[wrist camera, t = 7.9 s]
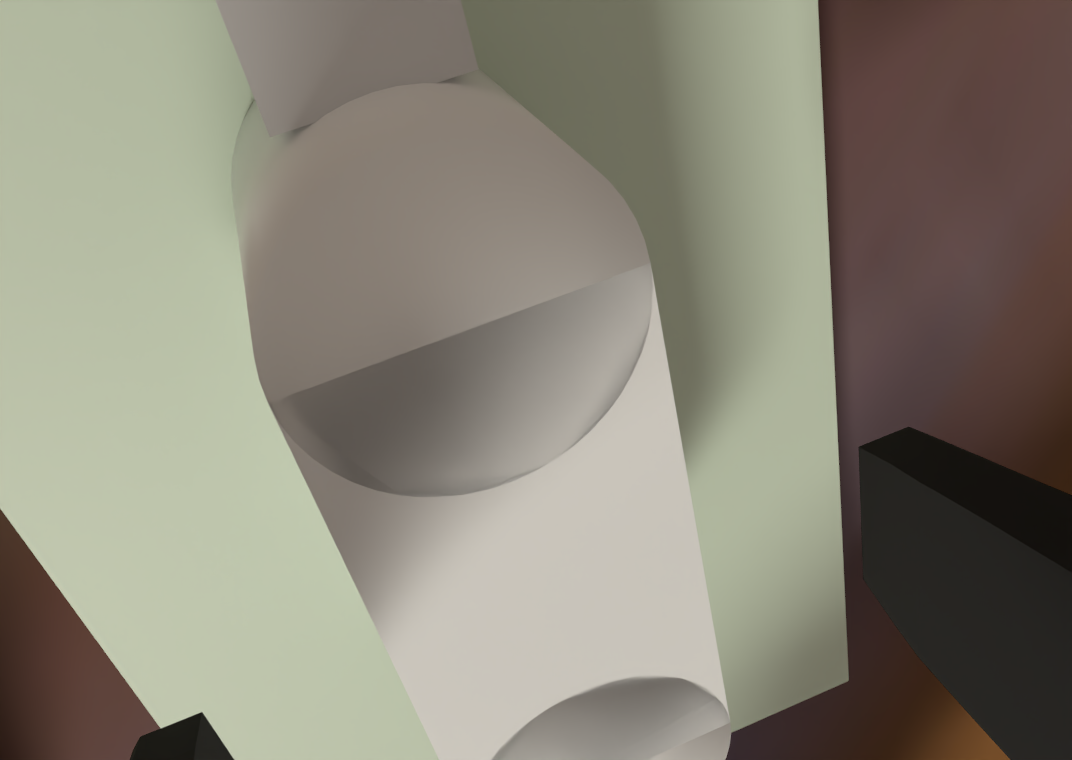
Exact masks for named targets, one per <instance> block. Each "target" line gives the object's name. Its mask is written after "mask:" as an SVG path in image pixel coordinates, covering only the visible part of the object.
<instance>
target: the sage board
mask: <svg viewBox="0 0 1072 760" xmlns="http://www.w3.org/2000/svg"><path fill="white" fill-rule="evenodd" d="M461 3H462V7H463V11H464V15H465V19H466V22H467V26H468V30H469V34H470V38H471V42H472V46H473V50H474V54H475V58H476V61H477V65H478V68H479V69H480V70H481V71H482V72H484V73H485V74H486V75H487V76H488V77H489V78H491V79H492V80H493V81H494V82H495V83H496V84H498V85H499V86H500V87H501V88H502V89H503V90H505V91H506V92H507V93H508V94H509V95H510V96H512V97H513V98H514V99H515V100H516V101H517V102H519V103H520V104H521V105H522V106H523V107H524V108H526V109H527V110H528V111H529V112H530V113H531V114H532V115H534V116H535V117H536V118H537V119H538V120H539V121H541V122H542V123H543V124H544V125H545V126H546V127H548V128H549V129H550V130H551V131H552V132H553V133H555V134H556V135H557V136H558V137H559V138H560V139H562V140H563V141H564V142H565V143H566V144H567V145H569V146H570V147H571V148H572V149H573V150H574V151H576V152H577V153H578V154H579V155H580V156H581V157H583V158H584V159H585V160H586V161H587V162H588V163H590V164H591V165H592V166H593V167H594V168H595V169H596V170H597V171H599V172H600V173H601V174H602V175H603V176H604V177H605V178H606V179H608V180H609V181H610V183H611V184H612V185H613V186H614V188H615V189H616V190H617V191H618V192H619V194H620V195H621V196H622V197H623V198H624V200H625V201H626V203H627V205H628V206H629V208H630V210H631V211H632V213H633V215H634V216H635V218H636V220H637V222H638V225H639V227H640V230H641V232H642V235H643V237H644V240H645V243H646V247H647V251H648V255H649V259H650V263H651V269H652V274H653V280H654V286H655V292H656V297H657V303H658V309H659V315H660V320H661V326H662V332H663V338H664V343H665V349H666V355H667V361H668V367H669V372H670V378H671V384H672V390H673V395H674V401H675V407H676V413H677V418H678V424H679V430H680V436H681V441H682V447H683V453H684V459H685V464H686V470H687V476H688V482H689V487H690V493H691V499H692V505H693V510H694V516H695V522H696V528H697V533H698V539H699V545H700V551H701V556H702V562H703V568H704V574H705V580H706V585H707V591H708V597H709V603H710V608H711V614H712V620H713V626H714V631H715V637H716V643H717V649H718V654H719V660H720V666H721V672H722V677H723V683H724V689H725V695H726V700H727V706H728V712H729V718H730V725H731V733H732V732H734V731H736V730H739V729H741V728H743V727H746V726H748V725H750V724H752V723H755V722H757V721H759V720H761V719H764V718H766V717H768V716H770V715H773V714H775V713H777V712H779V711H782V710H784V709H786V708H788V707H791V706H793V705H795V704H797V703H800V702H802V701H804V700H807V699H809V698H811V697H813V696H816V695H818V694H820V693H822V692H825V691H827V690H829V689H831V688H834V687H836V686H838V685H840V684H843V683H845V682H847V681H849V673H848V651H847V629H846V608H845V586H844V564H843V542H842V520H841V498H840V476H839V454H838V432H837V410H836V388H835V366H834V344H833V322H832V301H831V279H830V257H829V235H828V213H827V191H826V169H825V147H824V125H823V103H822V81H821V59H820V37H819V16H818V0H461ZM254 100H255V99H254V96H253V94H252V91H251V89H250V86H249V84H248V81H247V79H246V76H245V74H244V71H243V69H242V66H241V63H240V61H239V58H238V56H237V53H236V51H235V48H234V46H233V43H232V41H231V38H230V36H229V33H228V31H227V28H226V26H225V23H224V21H223V18H222V16H221V13H220V11H219V8H218V6H217V3H216V1H215V0H0V509H1V510H2V511H3V513H4V514H5V516H6V517H7V518H8V520H9V521H10V522H11V524H12V525H13V527H14V528H15V529H16V531H17V532H18V533H19V535H20V536H21V538H22V539H23V540H24V542H25V543H26V544H27V546H28V547H29V548H30V550H31V551H32V553H33V554H34V555H35V557H36V558H37V559H38V561H39V562H40V564H41V565H42V566H43V568H44V569H45V570H46V572H47V573H48V574H49V576H50V577H51V579H52V580H53V581H54V583H55V584H56V585H57V587H58V588H59V590H60V591H61V592H62V594H63V595H64V596H65V598H66V599H67V601H68V602H69V603H70V605H71V606H72V607H73V609H74V610H75V611H76V613H77V614H78V616H79V617H80V618H81V620H82V621H83V622H84V624H85V625H86V627H87V628H88V629H89V631H90V632H91V633H92V635H93V636H94V638H95V639H96V640H97V642H98V643H99V644H100V646H101V647H102V648H103V650H104V651H105V653H106V654H107V655H108V657H109V658H110V659H111V661H112V662H113V664H114V665H115V666H116V668H117V669H118V670H119V672H120V673H121V675H122V676H123V677H124V679H125V680H126V681H127V683H128V684H129V685H130V687H131V688H132V690H133V691H134V692H135V694H136V695H137V696H138V698H139V699H140V701H141V702H142V703H143V705H144V706H145V707H146V709H147V710H148V711H149V713H150V714H151V716H152V717H153V718H154V720H155V721H156V722H157V724H158V725H159V727H160V728H163V727H166V726H168V725H171V724H173V723H176V722H178V721H181V720H183V719H186V718H188V717H191V716H193V715H196V714H198V713H201V712H203V714H204V715H205V717H206V718H207V720H208V721H209V723H210V724H211V726H212V727H213V729H214V730H215V732H216V733H217V735H218V736H219V738H220V739H221V741H222V742H223V744H224V745H225V747H226V748H227V750H228V751H229V753H230V754H231V756H232V757H233V759H234V760H439V758H438V756H437V754H436V752H435V750H434V748H433V746H432V744H431V742H430V740H429V738H428V736H427V733H426V731H425V729H424V727H423V725H422V723H421V721H420V719H419V717H418V715H417V713H416V711H415V708H414V706H413V704H412V702H411V700H410V698H409V696H408V694H407V692H406V690H405V688H404V686H403V683H402V681H401V679H400V677H399V675H398V673H397V671H396V669H395V667H394V665H393V663H392V661H391V658H390V656H389V654H388V652H387V650H386V648H385V646H384V644H383V642H382V640H381V638H380V636H379V633H378V631H377V629H376V627H375V625H374V623H373V621H372V619H371V617H370V615H369V613H368V611H367V608H366V606H365V604H364V602H363V600H362V598H361V596H360V594H359V592H358V590H357V588H356V586H355V583H354V581H353V579H352V577H351V575H350V573H349V571H348V569H347V567H346V565H345V563H344V561H343V558H342V556H341V554H340V552H339V550H338V548H337V546H336V544H335V542H334V540H333V538H332V536H331V534H330V531H329V529H328V527H327V525H326V523H325V521H324V519H323V517H322V515H321V513H320V511H319V509H318V506H317V504H316V502H315V500H314V498H313V496H312V494H311V492H310V490H309V488H308V486H307V484H306V481H305V479H304V477H303V475H302V473H301V471H300V469H299V467H298V465H297V463H296V461H295V459H294V456H293V454H292V452H291V450H290V448H289V446H288V444H287V442H286V440H285V438H284V436H283V434H282V431H281V429H280V427H279V425H278V423H277V421H276V419H275V417H274V415H273V413H272V411H271V409H270V406H269V404H268V402H267V400H266V397H265V394H264V392H263V389H262V387H261V384H260V381H259V378H258V373H257V369H256V364H255V359H254V354H253V347H252V339H251V332H250V324H249V317H248V309H247V302H246V294H245V287H244V280H243V272H242V265H241V257H240V250H239V242H238V235H237V228H236V220H235V213H234V205H233V198H232V184H231V171H232V157H233V153H234V148H235V144H236V139H237V136H238V133H239V131H240V128H241V125H242V122H243V120H244V118H245V116H246V114H247V112H248V110H249V108H250V107H251V105H252V103H253V101H254Z"/></svg>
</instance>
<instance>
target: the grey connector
mask: <svg viewBox="0 0 1072 760" xmlns="http://www.w3.org/2000/svg"><path fill="white" fill-rule="evenodd" d="M215 1H216V3H217V6H218V8H219V11H220V13H221V16H222V18H223V21H224V23H225V26H226V28H227V31H228V33H229V36H230V38H231V41H232V43H233V46H234V48H235V51H236V53H237V56H238V58H239V61H240V63H241V66H242V69H243V71H244V74H245V76H246V79H247V81H248V84H249V86H250V89H251V91H252V94H253V96H254V99H255V100H254V101H253V103H252V105H251V107H250V108H249V110H248V112H247V114H246V116H245V118H244V120H243V122H242V125H241V128H240V131H239V133H238V136H237V139H236V144H235V148H234V153H233V157H232V171H231V184H232V198H233V205H234V213H235V220H236V228H237V235H238V242H239V250H240V257H241V265H242V272H243V280H244V287H245V294H246V302H247V309H248V317H249V324H250V332H251V339H252V347H253V354H254V359H255V364H256V369H257V373H258V378H259V381H260V384H261V387H262V389H263V392H264V394H265V397H266V400H267V402H268V404H269V406H270V409H271V411H272V413H273V415H274V417H275V419H276V421H277V423H278V425H279V427H280V429H281V431H282V434H283V436H284V438H285V440H286V442H287V444H288V446H289V448H290V450H291V452H292V454H293V456H294V459H295V461H296V463H297V465H298V467H299V469H300V471H301V473H302V475H303V477H304V479H305V481H306V484H307V486H308V488H309V490H310V492H311V494H312V496H313V498H314V500H315V502H316V504H317V506H318V509H319V511H320V513H321V515H322V517H323V519H324V521H325V523H326V525H327V527H328V529H329V531H330V534H331V536H332V538H333V540H334V542H335V544H336V546H337V548H338V550H339V552H340V554H341V556H342V558H343V561H344V563H345V565H346V567H347V569H348V571H349V573H350V575H351V577H352V579H353V581H354V583H355V586H356V588H357V590H358V592H359V594H360V596H361V598H362V600H363V602H364V604H365V606H366V608H367V611H368V613H369V615H370V617H371V619H372V621H373V623H374V625H375V627H376V629H377V631H378V633H379V636H380V638H381V640H382V642H383V644H384V646H385V648H386V650H387V652H388V654H389V656H390V658H391V661H392V663H393V665H394V667H395V669H396V671H397V673H398V675H399V677H400V679H401V681H402V683H403V686H404V688H405V690H406V692H407V694H408V696H409V698H410V700H411V702H412V704H413V706H414V708H415V711H416V713H417V715H418V717H419V719H420V721H421V723H422V725H423V727H424V729H425V731H426V733H427V736H428V738H429V740H430V742H431V744H432V746H433V748H434V750H435V752H436V754H437V756H438V758H439V760H725V759H726V757H727V753H728V750H729V746H730V739H731V725H730V718H729V712H728V706H727V700H726V695H725V689H724V683H723V677H722V672H721V666H720V660H719V654H718V649H717V643H716V637H715V631H714V626H713V620H712V614H711V608H710V603H709V597H708V591H707V585H706V580H705V574H704V568H703V562H702V556H701V551H700V545H699V539H698V533H697V528H696V522H695V516H694V510H693V505H692V499H691V493H690V487H689V482H688V476H687V470H686V464H685V459H684V453H683V447H682V441H681V436H680V430H679V424H678V418H677V413H676V407H675V401H674V395H673V390H672V384H671V378H670V372H669V367H668V361H667V355H666V349H665V343H664V338H663V332H662V326H661V320H660V315H659V309H658V303H657V297H656V292H655V286H654V280H653V274H652V269H651V263H650V259H649V255H648V251H647V247H646V243H645V240H644V237H643V235H642V232H641V230H640V227H639V225H638V222H637V220H636V218H635V216H634V215H633V213H632V211H631V210H630V208H629V206H628V205H627V203H626V201H625V200H624V198H623V197H622V196H621V195H620V194H619V192H618V191H617V190H616V189H615V188H614V186H613V185H612V184H611V183H610V181H609V180H608V179H606V178H605V177H604V176H603V175H602V174H601V173H600V172H599V171H597V170H596V169H595V168H594V167H593V166H592V165H591V164H590V163H588V162H587V161H586V160H585V159H584V158H583V157H581V156H580V155H579V154H578V153H577V152H576V151H574V150H573V149H572V148H571V147H570V146H569V145H567V144H566V143H565V142H564V141H563V140H562V139H560V138H559V137H558V136H557V135H556V134H555V133H553V132H552V131H551V130H550V129H549V128H548V127H546V126H545V125H544V124H543V123H542V122H541V121H539V120H538V119H537V118H536V117H535V116H534V115H532V114H531V113H530V112H529V111H528V110H527V109H526V108H524V107H523V106H522V105H521V104H520V103H519V102H517V101H516V100H515V99H514V98H513V97H512V96H510V95H509V94H508V93H507V92H506V91H505V90H503V89H502V88H501V87H500V86H499V85H498V84H496V83H495V82H494V81H493V80H492V79H491V78H489V77H488V76H487V75H486V74H485V73H484V72H482V71H481V70H480V69H479V68H478V65H477V61H476V58H475V54H474V50H473V46H472V42H471V38H470V34H469V30H468V26H467V22H466V19H465V15H464V11H463V7H462V3H461V0H215Z"/></svg>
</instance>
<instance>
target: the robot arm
mask: <svg viewBox="0 0 1072 760" xmlns="http://www.w3.org/2000/svg"><path fill="white" fill-rule="evenodd" d="M859 471H860V500H861V530H862V559H863V579H864V581H865V582H866V584H867V585H868V587H869V588H870V590H871V591H872V592H873V594H874V595H875V597H876V598H877V600H878V601H879V603H880V604H881V606H882V607H883V608H884V610H885V611H886V613H887V614H888V616H889V617H890V619H891V620H892V622H893V623H894V624H895V626H896V627H897V628H898V630H899V631H900V633H901V634H902V635H903V637H904V638H905V639H906V641H907V642H908V644H909V645H910V646H911V648H912V649H913V650H914V652H915V653H916V655H917V656H918V657H919V658H920V659H921V661H922V662H923V663H924V664H925V665H926V666H927V667H928V669H929V670H930V671H931V672H932V673H933V674H934V675H935V677H936V678H937V679H938V680H939V681H940V682H941V683H942V684H943V685H944V687H945V688H946V689H947V690H948V691H949V692H950V693H951V694H952V695H953V697H954V698H955V699H956V700H957V701H958V702H959V703H960V704H961V706H962V707H963V708H964V709H965V710H966V711H967V712H968V713H969V714H970V716H971V717H972V718H973V719H974V720H975V721H976V722H977V723H978V724H979V725H980V727H981V728H982V729H983V730H984V731H985V732H986V733H987V734H988V735H989V736H990V738H991V739H992V740H993V741H994V742H995V743H996V744H997V745H998V746H999V747H1000V749H1001V750H1002V751H1003V752H1004V753H1005V754H1006V755H1007V756H1008V757H1009V758H1010V760H1072V495H1070V494H1067V493H1065V492H1062V491H1060V490H1058V489H1055V488H1053V487H1050V486H1048V485H1046V484H1043V483H1041V482H1039V481H1036V480H1034V479H1032V478H1029V477H1027V476H1024V475H1022V474H1020V473H1017V472H1015V471H1013V470H1010V469H1008V468H1006V467H1003V466H1001V465H999V464H996V463H994V462H992V461H989V460H987V459H985V458H982V457H980V456H978V455H975V454H973V453H971V452H968V451H966V450H964V449H961V448H959V447H957V446H954V445H952V444H949V443H947V442H945V441H942V440H940V439H938V438H935V437H933V436H930V435H928V434H925V433H923V432H920V431H918V430H915V429H913V428H910V427H907V428H904V429H902V430H899V431H897V432H894V433H892V434H889V435H887V436H884V437H882V438H880V439H877V440H875V441H872V442H870V443H867V444H865V445H862V446H860V447H859ZM130 760H234V759H233V757H232V756H231V754H230V753H229V751H228V750H227V748H226V747H225V745H224V744H223V742H222V741H221V739H220V738H219V736H218V735H217V733H216V732H215V730H214V729H213V727H212V726H211V724H210V723H209V721H208V720H207V718H206V717H205V715H204V714H203V712H201V713H198V714H196V715H193V716H191V717H188V718H186V719H183V720H181V721H178V722H176V723H173V724H171V725H168V726H166V727H163V728H161V729H158V730H156V731H153V732H151V733H148V734H146V735H144V736H141V737H140V738H139V740H138V742H137V744H136V746H135V748H134V750H133V752H132V755H131V758H130Z"/></svg>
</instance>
